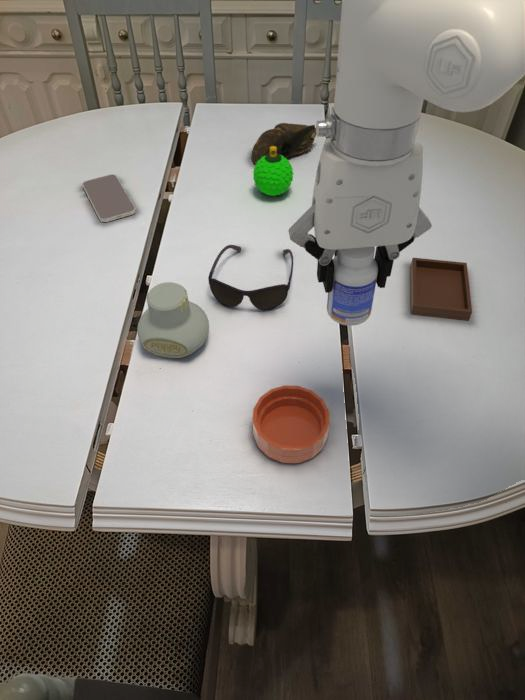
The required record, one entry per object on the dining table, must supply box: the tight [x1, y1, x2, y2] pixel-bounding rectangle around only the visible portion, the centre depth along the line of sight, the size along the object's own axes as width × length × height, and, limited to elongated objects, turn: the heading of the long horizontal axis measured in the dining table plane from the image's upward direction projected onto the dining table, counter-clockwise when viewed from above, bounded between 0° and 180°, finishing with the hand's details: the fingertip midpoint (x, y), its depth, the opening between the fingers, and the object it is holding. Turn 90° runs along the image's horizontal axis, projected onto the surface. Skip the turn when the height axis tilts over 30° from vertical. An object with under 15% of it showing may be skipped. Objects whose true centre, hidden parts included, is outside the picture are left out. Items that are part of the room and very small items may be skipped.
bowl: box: [252, 384, 331, 464], centre depth 71 cm, size 10×10×4 cm
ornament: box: [252, 146, 294, 197], centre depth 107 cm, size 8×8×10 cm
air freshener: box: [136, 281, 210, 359], centre depth 80 cm, size 11×8×10 cm
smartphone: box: [82, 173, 137, 223], centre depth 109 cm, size 7×1×15 cm
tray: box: [410, 257, 473, 322], centre depth 90 cm, size 12×9×2 cm
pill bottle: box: [326, 246, 378, 327], centre depth 61 cm, size 5×5×10 cm
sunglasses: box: [207, 244, 294, 311], centre depth 91 cm, size 14×16×5 cm
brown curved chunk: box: [251, 122, 317, 165], centre depth 119 cm, size 16×9×7 cm, turn 122°
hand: (352, 281), depth 61 cm, fingers closed on pill bottle, 5 cm apart
